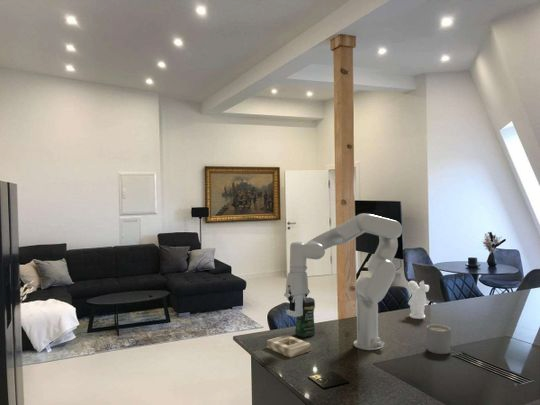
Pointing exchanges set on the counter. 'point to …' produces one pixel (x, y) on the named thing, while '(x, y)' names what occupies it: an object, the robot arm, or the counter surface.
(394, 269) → the robot arm
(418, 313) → the cherub figurine
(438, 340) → the coffee mug
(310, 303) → the coffee jar
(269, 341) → the block
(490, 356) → the counter surface
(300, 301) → the bracket
